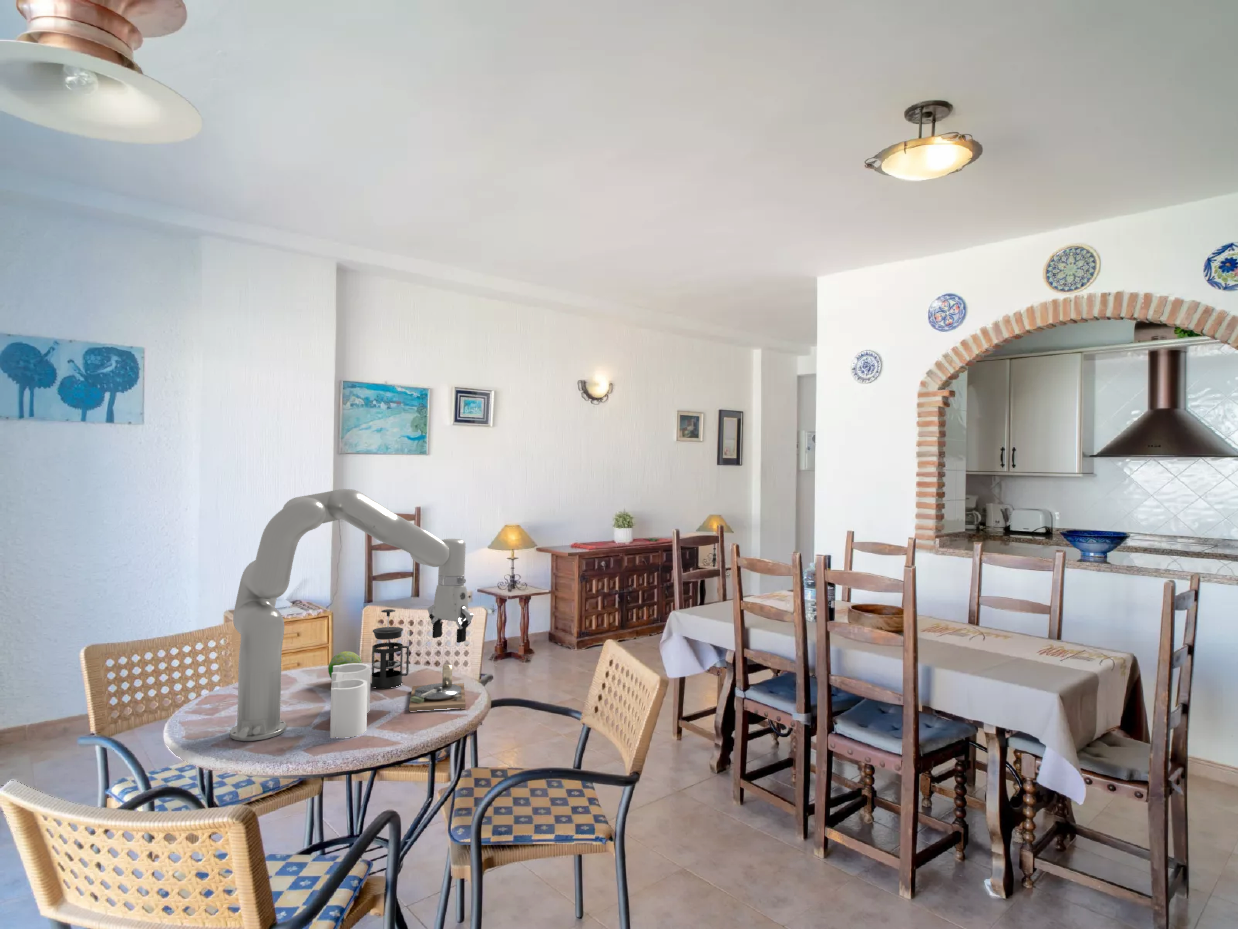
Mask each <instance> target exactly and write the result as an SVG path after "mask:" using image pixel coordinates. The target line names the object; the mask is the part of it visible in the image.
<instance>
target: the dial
mask: <svg viewBox="0 0 1238 929" xmlns="http://www.w3.org/2000/svg"><path fill="white" fill-rule="evenodd" d="M441 679H442V682H440V683H431V684H424V685H425V686H421V687H419V688H417V689H416V690H415V697H420V698H424V700H432V701H435V700H446V699H451V698H454V696H456V695H460V694H461V687H460V686H458V685H454V684H455V683H453V664H452V663H445V664H442V678H441Z"/></svg>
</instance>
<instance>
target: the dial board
mask: <svg viewBox="0 0 1238 929" xmlns="http://www.w3.org/2000/svg"><path fill="white" fill-rule="evenodd" d="M453 684H454V685H458V686H460V687H461V694H460V695H456V696H454V698H451V699H446V700H435V701H432V700H424V698H420V697H415V690H416V689H417V688H419V687H421V686H425V685H426V684H424V685H422V684H421V685H412V688H411V694H410V700H409V707H408V712H409V711H417V710H434V709H447V708H466V705H467V702H466V693H465V683H464V682H462V683H460V682H459V683H453Z"/></svg>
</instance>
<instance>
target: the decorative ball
mask: <svg viewBox="0 0 1238 929" xmlns="http://www.w3.org/2000/svg"><path fill="white" fill-rule="evenodd" d="M352 663H362V664H363V661H362V659H361V657H360V656H359V655H358V654H357V653H355V652H353V651H341V652H338V653H337V654H336V655H334V656H333V657H332V658H331V660H330V662H329V663H328V666H327V670H328V674H329V677H330V680H332V673H333V666H335V665H343V664H352Z"/></svg>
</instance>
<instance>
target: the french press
mask: <svg viewBox="0 0 1238 929" xmlns="http://www.w3.org/2000/svg"><path fill="white" fill-rule="evenodd" d="M380 612H381V613H386V617H387V626H384V627H383V626H382V627H377V628H374V629H372V633H373V634H374V638H375V639H376V640H383V641H384V640H385V641H386V642H380V643H376V644H373V645H372V647H371V682H370V688H372V687H376V688H391V687H396V686H399V685H401V683H403V682H404V681H403V677H406V676H408V675H409V672H410V671H409V670H410V669H409V666H410V664H409V663H410V645H403V643H401V642H394V641H393V642H392V641H391V642H390V641H389V640H396V639H400V638H401V637H402V635H403V634H402V632H403V631H404V629H403V627H400V626H389V624H390V622H389V620H390V616H391V613H394V612H396V610H395V609H392V608H387V609H382V610H381V611H380ZM404 649H406V668H405V670H406V671H405V672H406V673H403V657H404V656H403V651H404ZM398 652H400V657H399V658H400V661H399V660H395V653H398ZM375 654H380V659H379V660H380V661H377V662H375ZM399 667H400V668H399ZM397 668H399V670H395V669H397ZM375 669H377V670H378V671H375ZM402 681H403V682H402ZM403 684H404V683H403ZM401 686H402V685H401ZM399 687H400V686H399ZM396 688H397V687H396ZM391 689H392V688H391Z"/></svg>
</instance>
